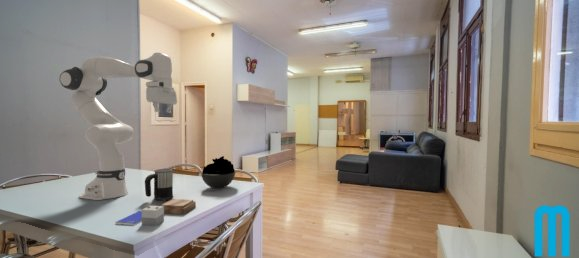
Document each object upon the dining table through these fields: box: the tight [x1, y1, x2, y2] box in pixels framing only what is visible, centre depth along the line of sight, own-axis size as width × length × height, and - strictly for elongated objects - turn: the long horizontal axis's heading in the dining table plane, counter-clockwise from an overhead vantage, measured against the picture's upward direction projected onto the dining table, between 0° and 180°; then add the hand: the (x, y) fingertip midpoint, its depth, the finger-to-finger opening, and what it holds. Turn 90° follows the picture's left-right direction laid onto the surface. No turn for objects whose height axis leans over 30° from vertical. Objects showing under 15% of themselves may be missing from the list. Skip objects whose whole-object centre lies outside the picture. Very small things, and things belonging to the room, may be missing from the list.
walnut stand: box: [160, 198, 196, 215], centre depth 115 cm, size 12×10×4 cm
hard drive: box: [115, 210, 142, 226], centre depth 105 cm, size 2×8×12 cm
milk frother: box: [144, 168, 174, 202], centre depth 130 cm, size 14×16×15 cm
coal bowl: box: [200, 155, 236, 190], centre depth 154 cm, size 20×20×19 cm
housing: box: [141, 205, 165, 227], centre depth 101 cm, size 6×5×6 cm
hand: (163, 112), depth 129 cm, fingers open, 8 cm apart
